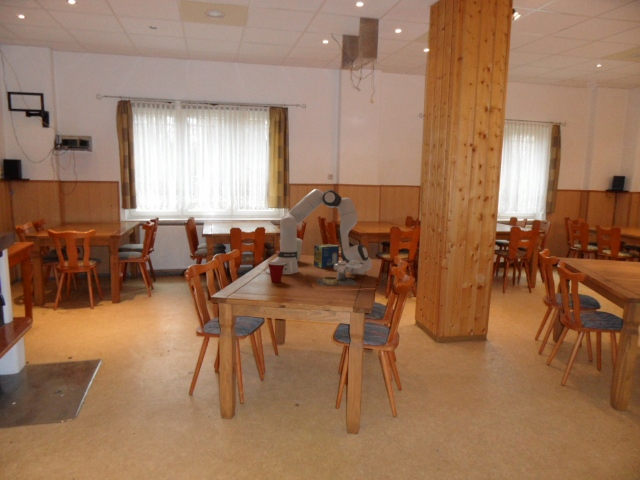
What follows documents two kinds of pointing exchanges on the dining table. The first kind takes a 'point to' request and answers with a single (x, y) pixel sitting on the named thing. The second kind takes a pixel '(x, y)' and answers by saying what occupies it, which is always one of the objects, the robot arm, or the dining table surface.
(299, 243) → the canister
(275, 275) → the plastic cup
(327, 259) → the protein box
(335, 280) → the brass collar
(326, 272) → the dining table surface
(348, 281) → the rubber mat
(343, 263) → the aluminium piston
